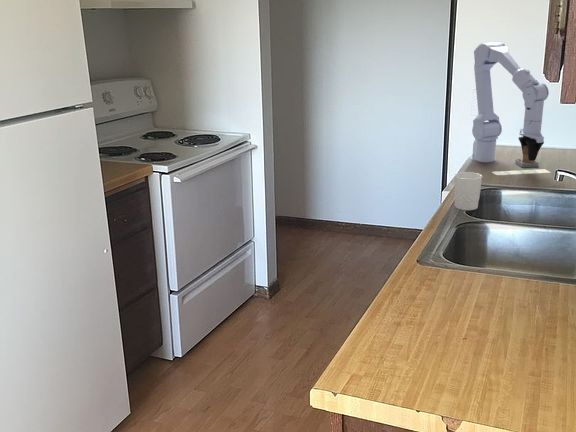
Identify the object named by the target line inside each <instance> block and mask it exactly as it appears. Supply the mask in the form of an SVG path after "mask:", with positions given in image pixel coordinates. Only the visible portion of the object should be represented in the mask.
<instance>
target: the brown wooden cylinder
mask: <svg viewBox="0 0 576 432" xmlns="http://www.w3.org/2000/svg"><path fill="white" fill-rule="evenodd" d="M522 158H523V162H524V163H534V162H535V161H536V160H533V161H529V159H528V146H527V145H525V146H524V147H523V153H522Z"/></svg>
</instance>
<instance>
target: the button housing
mask: <svg viewBox="0 0 576 432" xmlns="http://www.w3.org/2000/svg"><path fill="white" fill-rule="evenodd" d="M521 159H522V158H518V159H517V158H515V165H517V166H518V167H521V168H539V162H538V161H537V160H535V162H534V163H522V162H521Z"/></svg>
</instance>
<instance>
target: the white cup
mask: <svg viewBox="0 0 576 432" xmlns="http://www.w3.org/2000/svg"><path fill="white" fill-rule="evenodd" d="M482 181H483V175H482V174H481V173H478V172H472V171H462V172H461V171H460V172H456V173H455V174H454V207H455V208H456V209H458V210H461V211H474V210H477V209H478V207H479V200H480V195H481V189H482V188H481V187H482Z"/></svg>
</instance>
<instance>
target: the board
mask: <svg viewBox="0 0 576 432" xmlns="http://www.w3.org/2000/svg"><path fill="white" fill-rule="evenodd" d="M491 173H492V174H493V175H495V176H509V175H511V176H512V175H513V176H514V175H529V174H530V175H531V174H532V175H533V174H551V173H552V172H551V171H549V170H548V169H546V168H544V169H542V168H541V169H523V170H522V169H520V170H519V169H518V170H505V171H504V170H503V171H502V170H500V171H491Z"/></svg>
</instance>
